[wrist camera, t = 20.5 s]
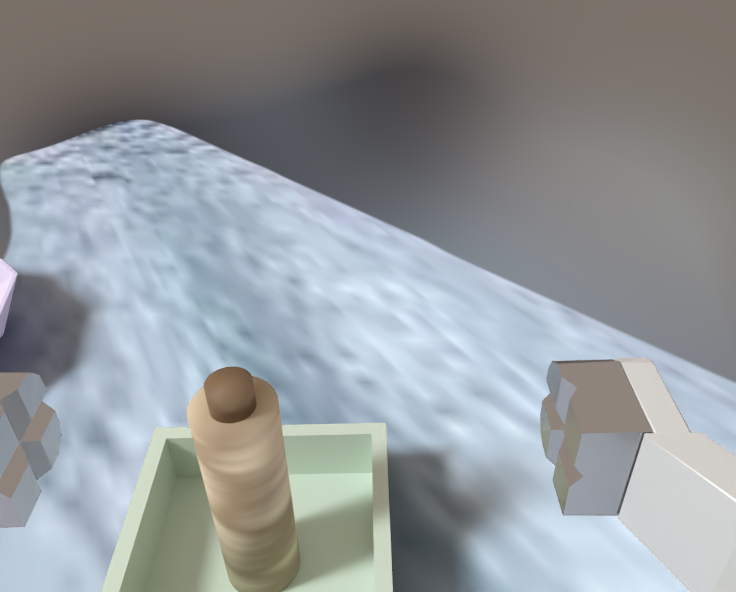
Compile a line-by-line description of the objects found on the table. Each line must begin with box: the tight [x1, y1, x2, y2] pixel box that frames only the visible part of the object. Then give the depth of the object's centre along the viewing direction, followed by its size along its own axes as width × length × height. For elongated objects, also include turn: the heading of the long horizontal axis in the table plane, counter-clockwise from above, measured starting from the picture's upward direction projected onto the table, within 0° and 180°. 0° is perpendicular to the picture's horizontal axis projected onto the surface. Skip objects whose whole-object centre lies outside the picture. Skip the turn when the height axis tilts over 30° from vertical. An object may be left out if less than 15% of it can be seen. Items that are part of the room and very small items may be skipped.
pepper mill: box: [187, 367, 300, 592], centre depth 38 cm, size 5×5×16 cm
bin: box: [101, 423, 393, 592], centre depth 42 cm, size 16×16×5 cm
